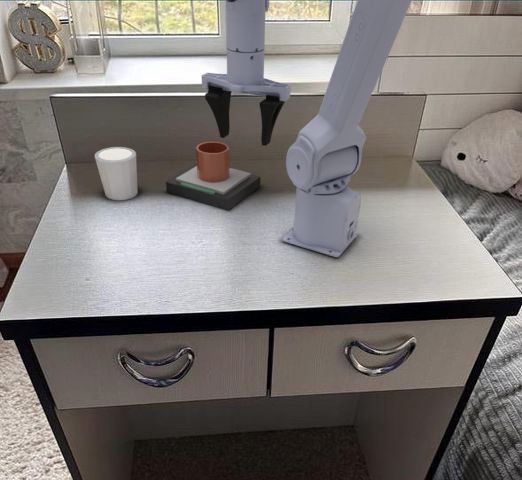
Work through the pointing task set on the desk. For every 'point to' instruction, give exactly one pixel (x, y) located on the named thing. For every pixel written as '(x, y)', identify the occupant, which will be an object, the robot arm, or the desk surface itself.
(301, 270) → the desk surface
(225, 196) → the scale
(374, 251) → the desk surface
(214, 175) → the cup
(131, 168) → the shot glass
